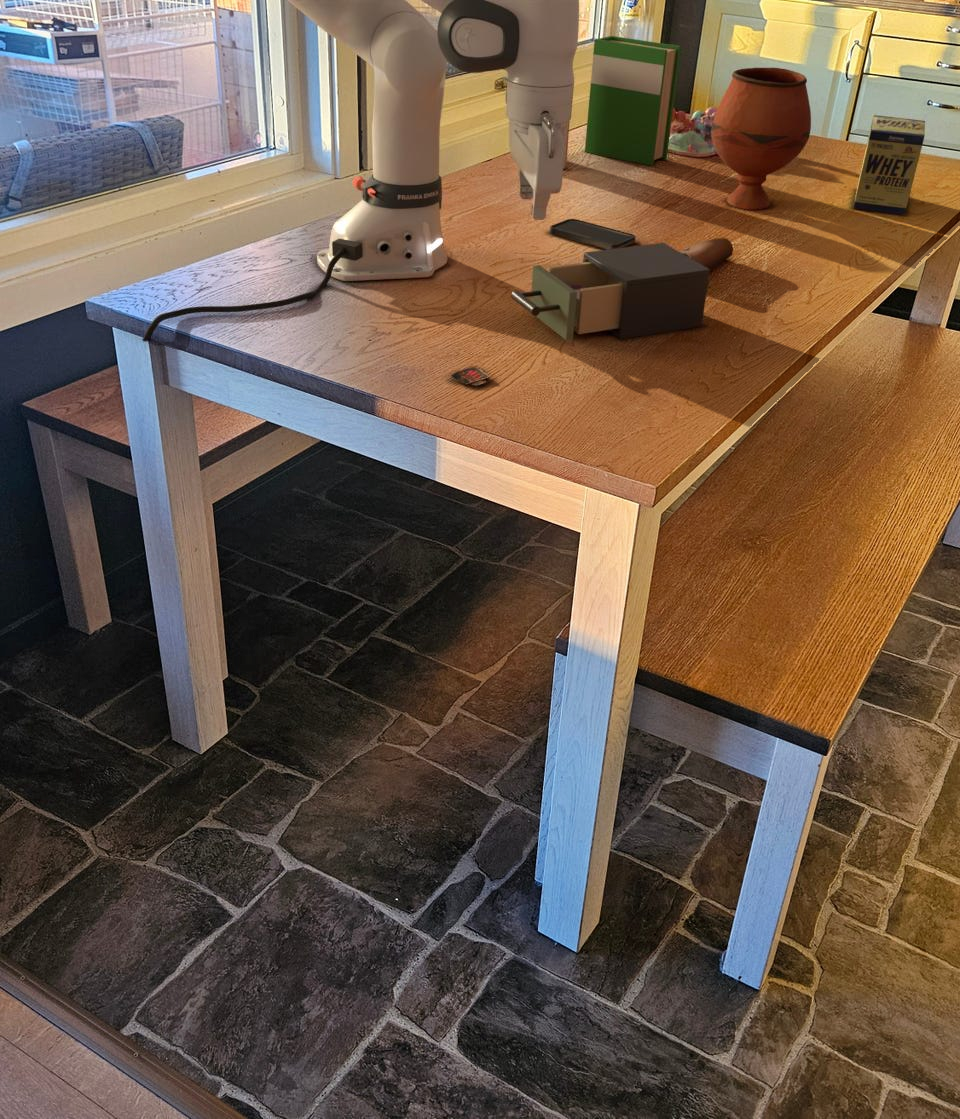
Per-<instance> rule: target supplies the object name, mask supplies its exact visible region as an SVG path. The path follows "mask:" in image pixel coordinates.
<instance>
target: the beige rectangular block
mask: <svg viewBox="0 0 960 1119" xmlns="http://www.w3.org/2000/svg"><path fill="white" fill-rule="evenodd" d="M570 287H571V288H572V289H574V290H575V291H576V292H577V298H576V310H575V318H576V319H577V320H578V309H579V297H580V289H582V288H583V287H581V286H580V285H577V286H570Z"/></svg>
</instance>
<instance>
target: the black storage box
mask: <svg viewBox="0 0 960 1119" xmlns="http://www.w3.org/2000/svg"><path fill="white" fill-rule="evenodd" d="M584 262H591V263H593V264H594V265H596V266H597V267H599V268H600V269H602V270H603V271H605V272H606V273H608V274H609V275H611V276H612V277H614V278H615V279H617V280H618V281H620V282H621V283H623V284H624V287H623V296H622V305H621V314H620V323H619V328H616V329H610V330H608V332H610V333H612V334H613V335H614V336H615V337H617V338H618V339H619V340H624V339H630V338H637V337H643V336H649V335H657V334H661V333H669V332H675V331H680V330H687V329H693V328H699V327H702V325H703V319H704V312H705V305H706V299H707V293H708V287H709V280H710V275H711V274H710V273H711V270H710V269H708V268H706V267H705V266H703V265H701V264H699V263H698V262H696V261H694V260H693V259H691V258H689V257H687V256H686V255H684V254H682V253H680V252H679V250H677V249H675V248H674V247H672V246H670V245H668V244H666V243H665V242H659V243H658V242H657V243H651V244H649V243H648V244H642V245H634V246H626V247H624V248H617V249H609V250H607V249H603V250H592V251H585V252H583V258H582V263H584Z"/></svg>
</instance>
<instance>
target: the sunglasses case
mask: <svg viewBox="0 0 960 1119" xmlns="http://www.w3.org/2000/svg"><path fill="white" fill-rule="evenodd" d="M678 251H679V252H680V253H682V254H684V255H686V256H687V257H689V258H691V259H693V260H694V261H696V262H698V263H699V264H701V265H703V266H705V267H706V268H708V269H710V271H712V269H714V268H715V267H717V266H718V265H720V264H721V263H722V262H724V261H726V260H727V259H729V258H730V257H732V256H733V254H734V246H733V243H732V242H731V241H730V240H729V239H728V238H726V237H720V238H719V237H718V238H710V239H707V240H704V241H700V242H697V243H695V244H692V245H688V246H686V247H683V248H681V249H679V250H678Z"/></svg>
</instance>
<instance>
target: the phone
mask: <svg viewBox="0 0 960 1119" xmlns="http://www.w3.org/2000/svg"><path fill="white" fill-rule="evenodd" d="M549 234H551V235H553V236H558V237H561V238H565V239H568V240H572V241H575V242H579V243H582V244H585V245H590V246H592V247H596V248H600V249H603V250H609V249H617V248H625V247H629V246H631V245H633V244H635V243H636V234H633V233H630V232H626V231H621V230H618V229H614V228H611V227H607V226H603V225H599V224H596V223H591V222H588V221H584V220H582V219H581V220H580V219H577V218H567V219H565V220H563V221H560V222H557V223H554V224H552V225H550V226H549Z"/></svg>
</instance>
